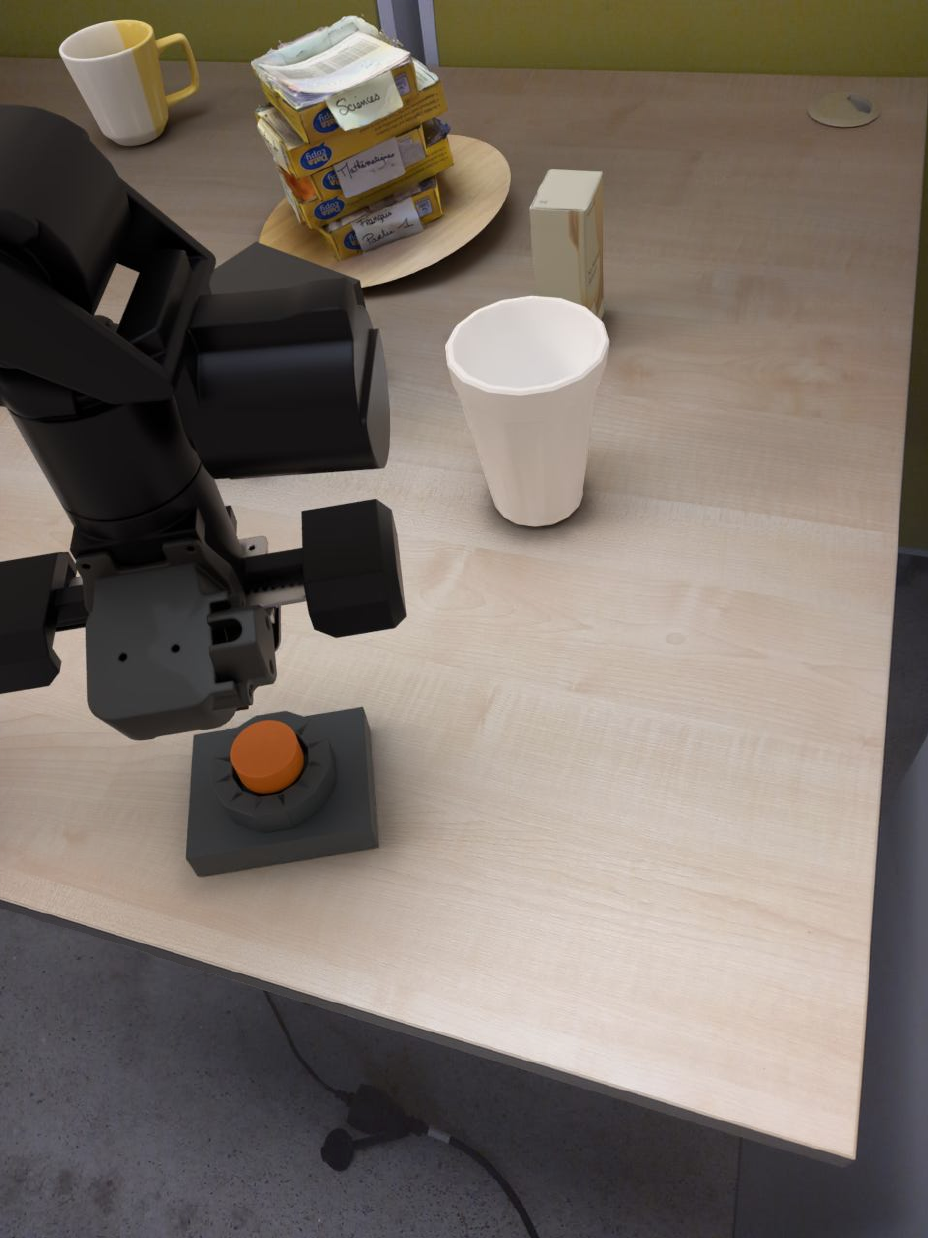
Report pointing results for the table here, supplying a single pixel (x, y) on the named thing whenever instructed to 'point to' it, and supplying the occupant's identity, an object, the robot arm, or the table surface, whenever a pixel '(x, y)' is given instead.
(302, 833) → the control block
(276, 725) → the button
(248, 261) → the black box
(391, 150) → the stack of yellow boxes
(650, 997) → the table surface
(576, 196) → the cosmetic box
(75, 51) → the mug
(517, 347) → the cup
